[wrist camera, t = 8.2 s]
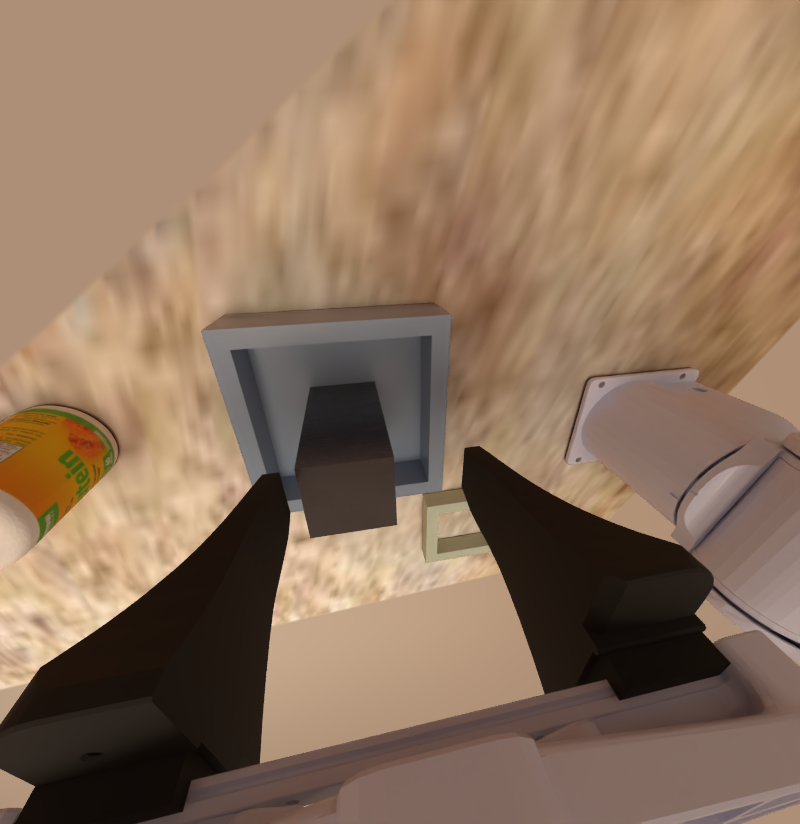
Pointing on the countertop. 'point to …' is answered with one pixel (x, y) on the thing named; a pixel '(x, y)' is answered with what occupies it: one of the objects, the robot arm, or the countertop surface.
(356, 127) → the countertop surface
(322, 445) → the dark wooden post
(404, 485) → the tray
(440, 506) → the holder
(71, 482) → the supplement bottle
